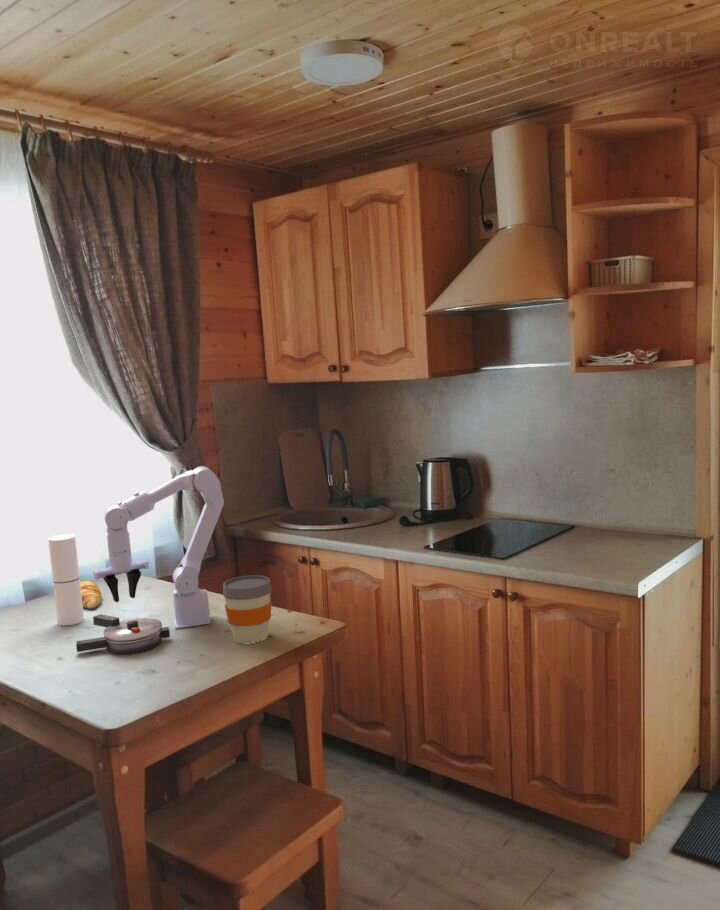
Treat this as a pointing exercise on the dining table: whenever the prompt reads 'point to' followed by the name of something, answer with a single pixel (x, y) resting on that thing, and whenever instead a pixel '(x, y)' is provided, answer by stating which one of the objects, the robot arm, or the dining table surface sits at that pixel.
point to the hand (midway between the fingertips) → (124, 599)
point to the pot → (124, 644)
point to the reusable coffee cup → (248, 607)
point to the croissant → (90, 594)
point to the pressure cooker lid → (127, 628)
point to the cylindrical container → (66, 579)
